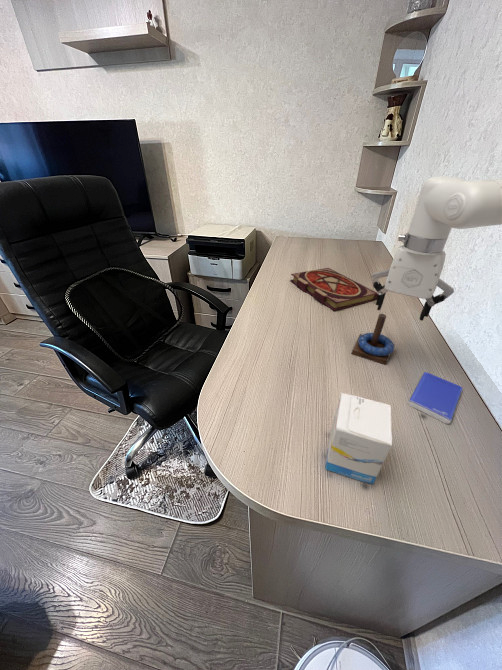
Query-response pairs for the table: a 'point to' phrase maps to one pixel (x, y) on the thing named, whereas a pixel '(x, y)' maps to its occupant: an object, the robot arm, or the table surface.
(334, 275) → the book
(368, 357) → the stand
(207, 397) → the table surface
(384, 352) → the blue teething ring
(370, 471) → the ink box
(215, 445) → the table surface
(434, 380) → the hard drive
